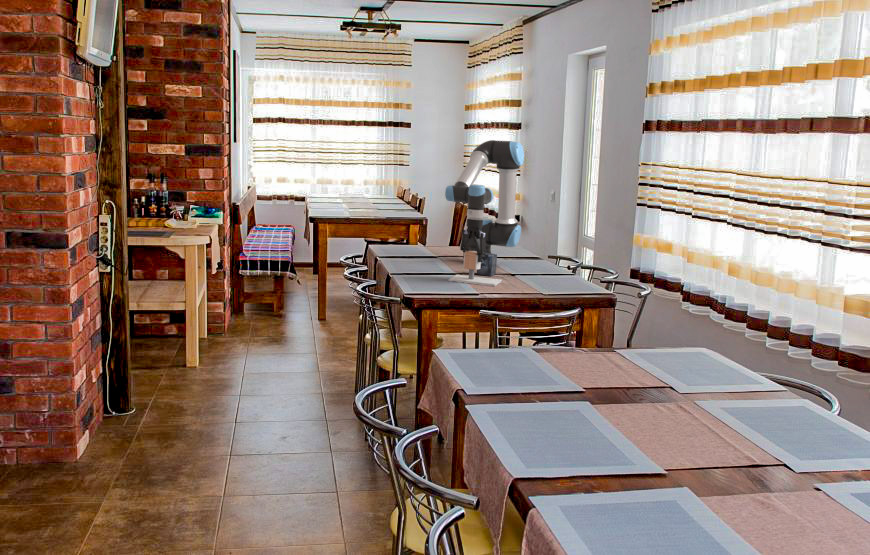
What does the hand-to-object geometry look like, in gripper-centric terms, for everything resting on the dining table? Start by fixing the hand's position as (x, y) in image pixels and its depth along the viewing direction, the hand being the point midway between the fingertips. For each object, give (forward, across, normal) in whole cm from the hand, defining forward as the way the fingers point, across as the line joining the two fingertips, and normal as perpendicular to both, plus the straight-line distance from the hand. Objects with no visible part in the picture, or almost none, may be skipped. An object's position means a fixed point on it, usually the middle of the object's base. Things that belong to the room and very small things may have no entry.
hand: (471, 267), depth 393 cm
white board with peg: (+6, +2, +1) cm, 7 cm away
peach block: (0, 0, 0) cm, 0 cm away
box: (+6, -8, +18) cm, 21 cm away
